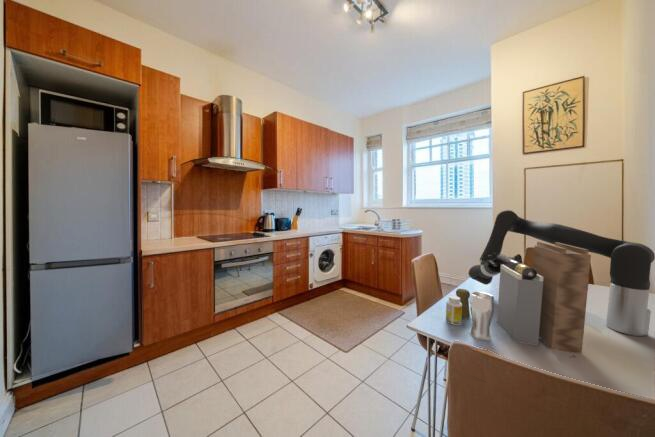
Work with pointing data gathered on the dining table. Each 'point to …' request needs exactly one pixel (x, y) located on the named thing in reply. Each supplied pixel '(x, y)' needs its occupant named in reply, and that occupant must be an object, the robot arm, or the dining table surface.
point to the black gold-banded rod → (517, 267)
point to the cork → (464, 301)
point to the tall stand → (562, 294)
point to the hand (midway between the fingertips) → (507, 255)
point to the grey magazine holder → (519, 305)
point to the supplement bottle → (454, 310)
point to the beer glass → (481, 314)
